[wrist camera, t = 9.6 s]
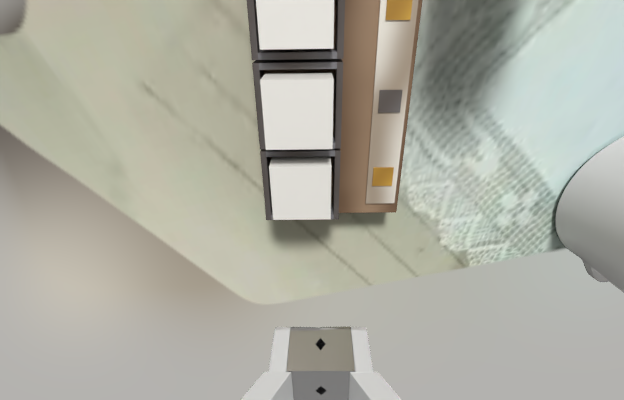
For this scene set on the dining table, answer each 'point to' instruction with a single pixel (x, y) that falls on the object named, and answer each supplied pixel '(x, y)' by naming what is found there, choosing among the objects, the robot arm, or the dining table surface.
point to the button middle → (297, 110)
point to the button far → (300, 187)
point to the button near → (295, 24)
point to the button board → (354, 99)
